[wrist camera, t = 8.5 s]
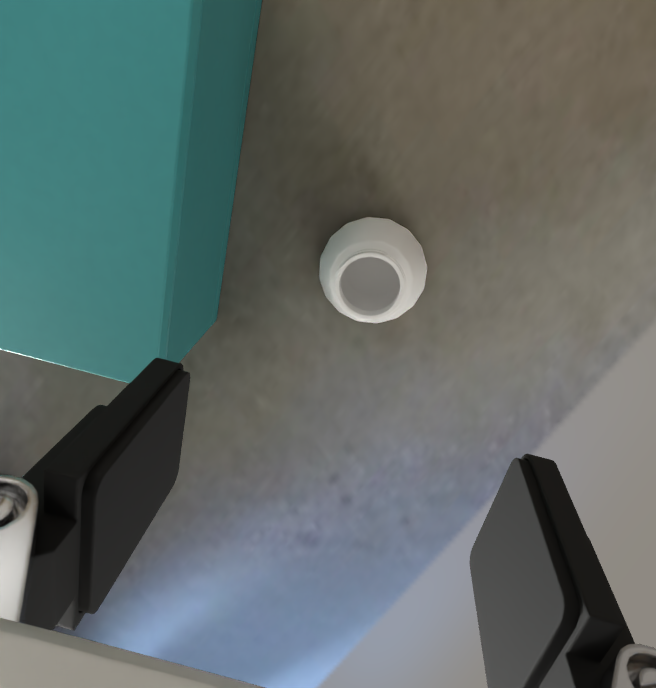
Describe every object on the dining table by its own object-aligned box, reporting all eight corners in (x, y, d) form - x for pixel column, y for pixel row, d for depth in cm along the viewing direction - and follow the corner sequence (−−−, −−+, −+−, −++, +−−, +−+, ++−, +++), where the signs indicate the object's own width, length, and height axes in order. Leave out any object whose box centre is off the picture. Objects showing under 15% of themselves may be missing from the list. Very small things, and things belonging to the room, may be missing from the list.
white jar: (393, 333, 27) (445, 247, 25) (392, 358, 24) (450, 264, 22) (304, 287, 27) (351, 196, 25) (293, 307, 24) (344, 207, 22)
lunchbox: (-9, -96, 22) (-172, -176, 16) (266, -29, 21) (211, -85, 15) (5, 266, 28) (-106, 310, 22) (216, 320, 28) (164, 380, 22)
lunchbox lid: (-177, -212, 15) (-206, -229, 14) (215, -120, 15) (205, -131, 14) (-107, 311, 22) (-124, 317, 21) (163, 381, 22) (155, 390, 21)
